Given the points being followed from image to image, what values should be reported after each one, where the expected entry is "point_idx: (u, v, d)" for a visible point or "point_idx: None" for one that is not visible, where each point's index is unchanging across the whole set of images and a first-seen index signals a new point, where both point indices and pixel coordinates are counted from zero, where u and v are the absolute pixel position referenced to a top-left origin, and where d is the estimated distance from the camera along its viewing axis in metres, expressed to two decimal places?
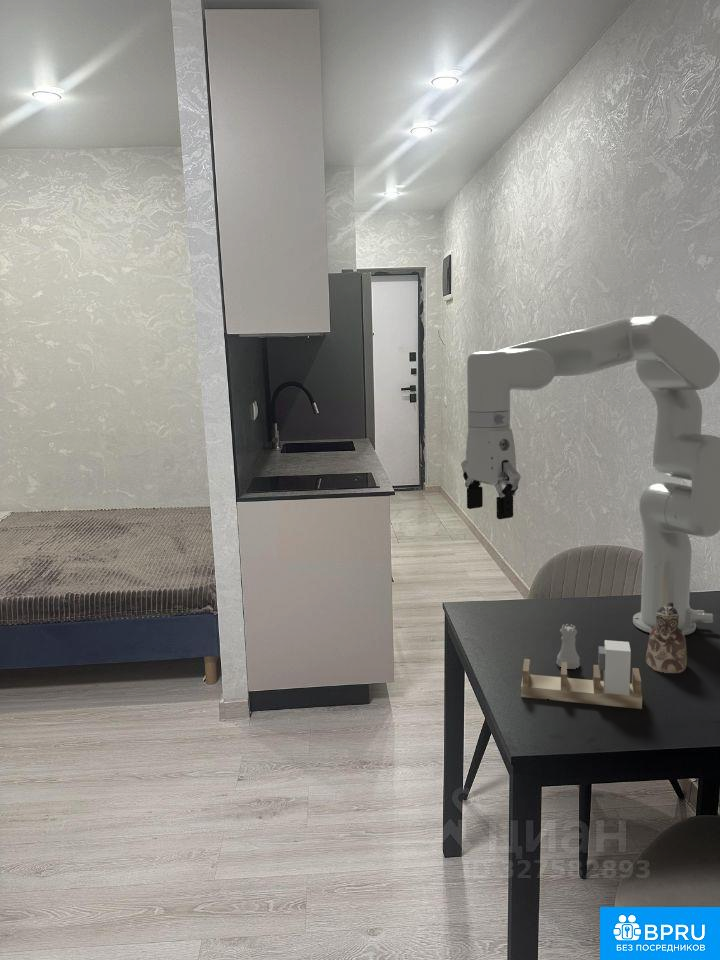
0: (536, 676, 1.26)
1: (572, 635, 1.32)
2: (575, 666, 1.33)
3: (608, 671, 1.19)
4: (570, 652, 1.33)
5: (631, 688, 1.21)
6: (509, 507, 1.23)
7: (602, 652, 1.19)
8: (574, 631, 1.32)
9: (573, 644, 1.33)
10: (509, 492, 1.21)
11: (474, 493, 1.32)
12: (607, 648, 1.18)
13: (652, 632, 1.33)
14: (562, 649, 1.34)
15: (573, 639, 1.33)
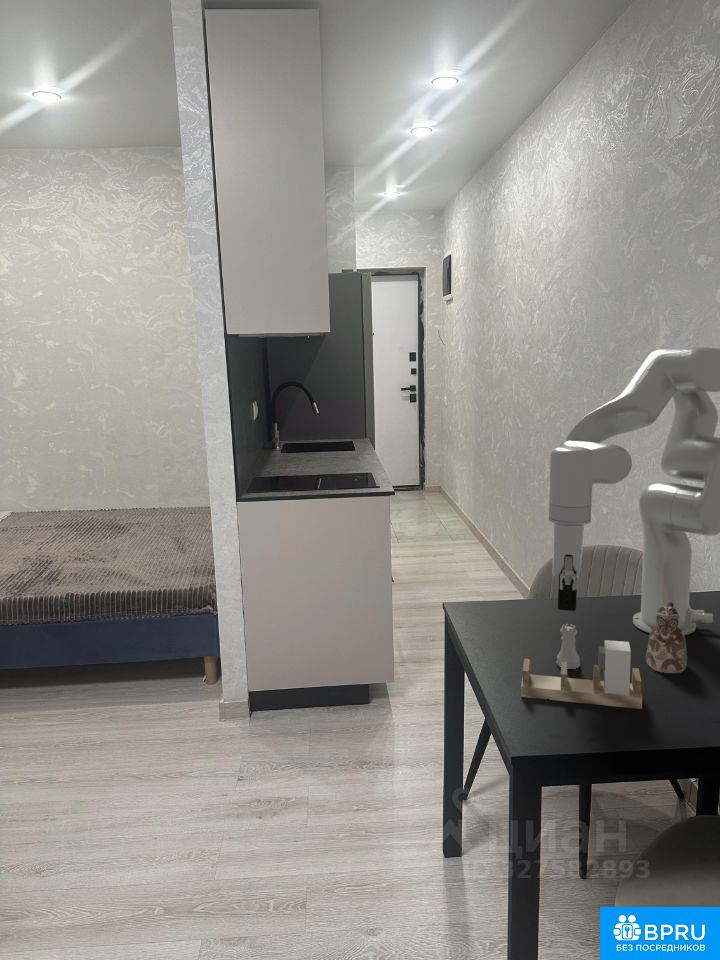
0: (536, 676, 1.26)
1: (572, 635, 1.32)
2: (575, 666, 1.33)
3: (608, 671, 1.19)
4: (570, 652, 1.33)
5: (631, 688, 1.21)
6: None
7: (602, 652, 1.19)
8: (574, 631, 1.32)
9: (573, 644, 1.33)
10: None
11: None
12: (607, 648, 1.18)
13: (652, 632, 1.33)
14: (562, 649, 1.34)
15: (573, 639, 1.33)
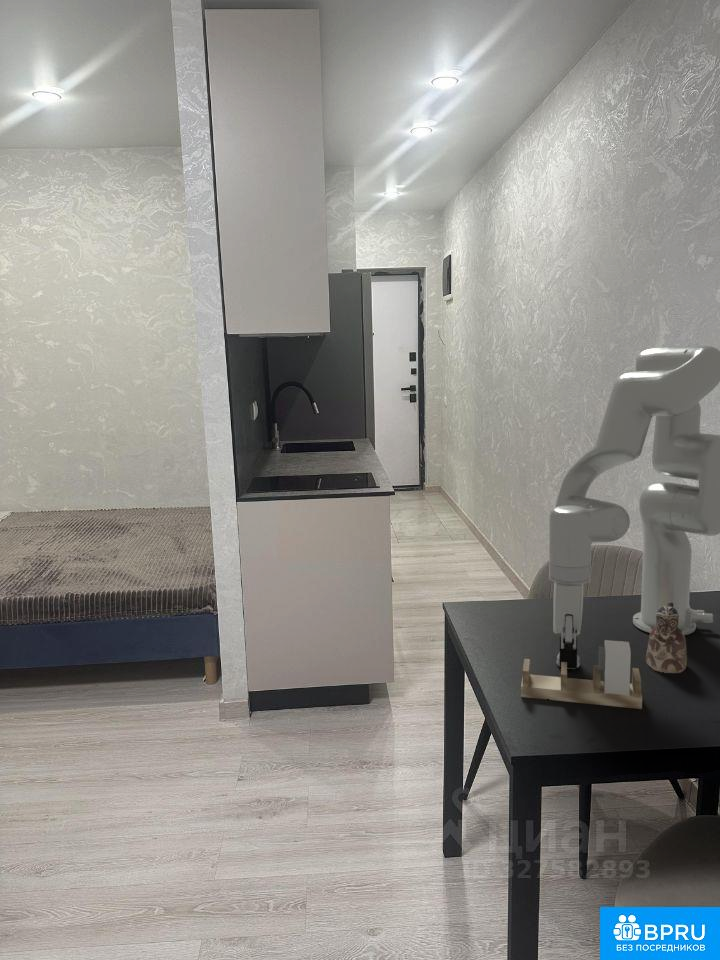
0: (536, 676, 1.26)
1: None
2: None
3: (608, 671, 1.19)
4: None
5: (631, 688, 1.21)
6: None
7: (602, 652, 1.19)
8: None
9: None
10: None
11: None
12: (607, 648, 1.18)
13: (652, 632, 1.33)
14: None
15: None
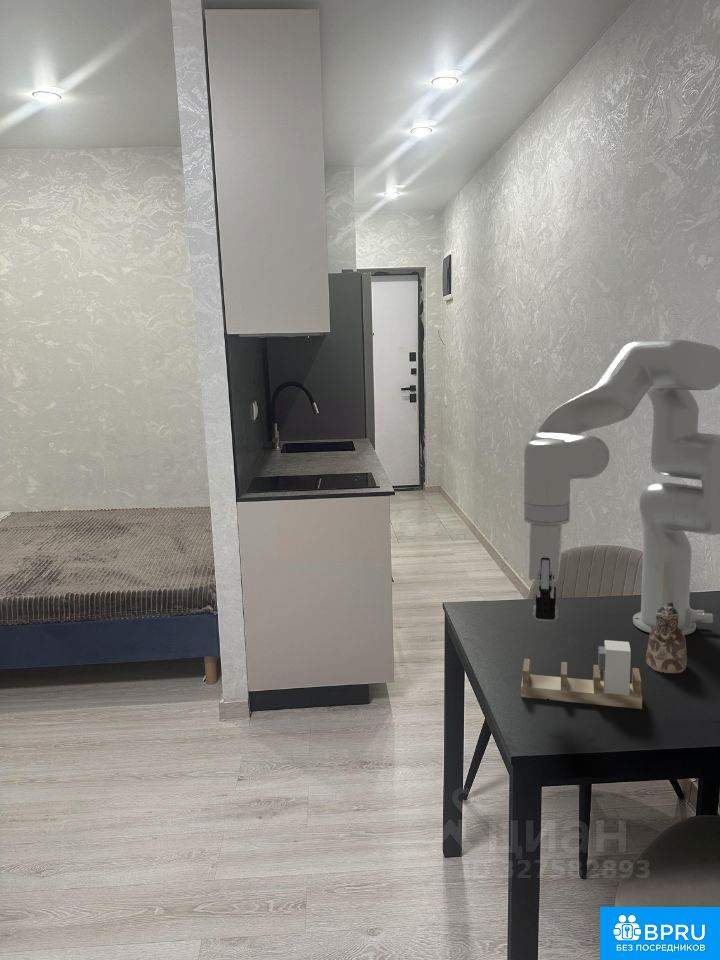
0: (536, 676, 1.26)
1: (549, 583, 1.20)
2: None
3: (608, 671, 1.19)
4: None
5: (631, 688, 1.21)
6: None
7: (602, 652, 1.19)
8: None
9: None
10: None
11: None
12: (607, 648, 1.18)
13: (652, 632, 1.33)
14: None
15: None
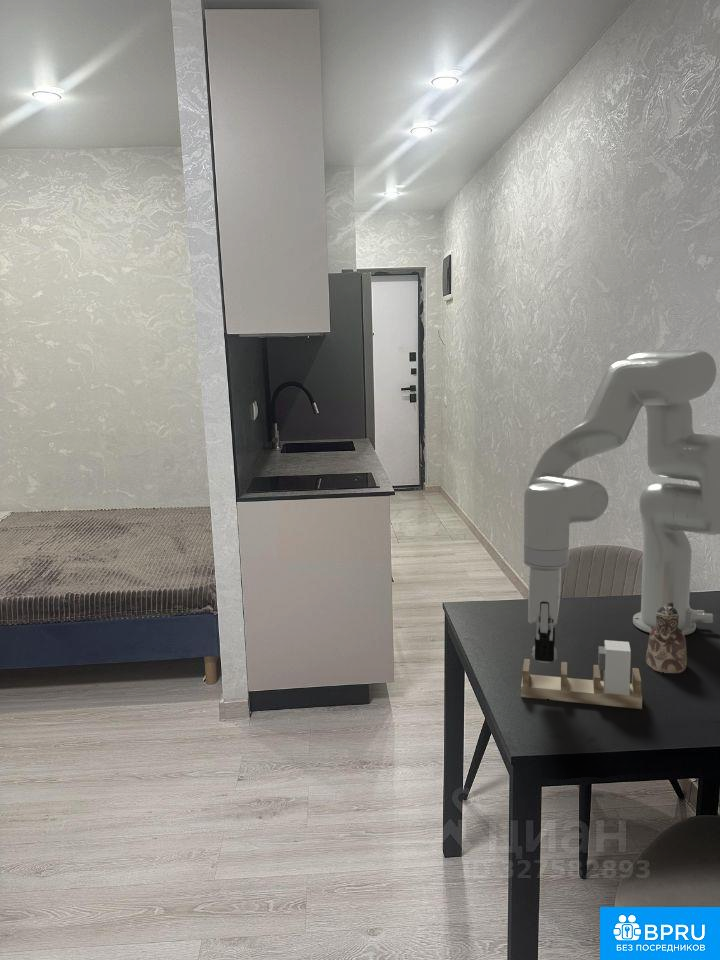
0: (536, 676, 1.26)
1: None
2: None
3: (608, 671, 1.19)
4: None
5: (631, 688, 1.21)
6: None
7: (602, 652, 1.19)
8: None
9: None
10: None
11: None
12: (607, 648, 1.18)
13: (652, 632, 1.33)
14: None
15: None
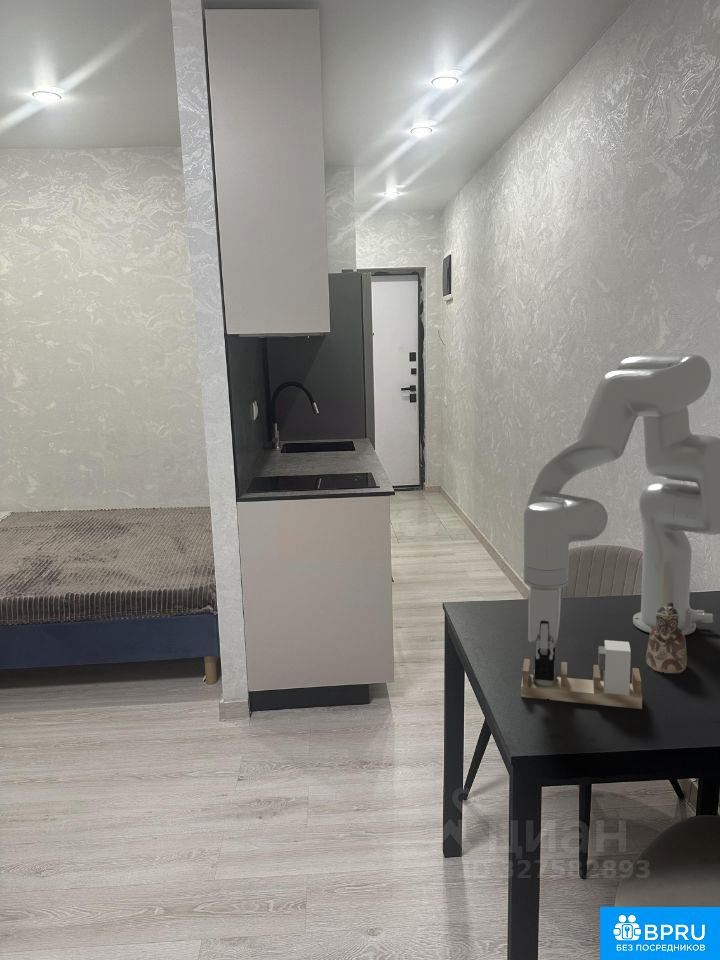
0: None
1: None
2: (553, 682, 1.22)
3: (608, 671, 1.19)
4: None
5: (631, 688, 1.21)
6: None
7: (602, 652, 1.19)
8: None
9: None
10: None
11: None
12: (607, 648, 1.18)
13: (652, 632, 1.33)
14: None
15: None
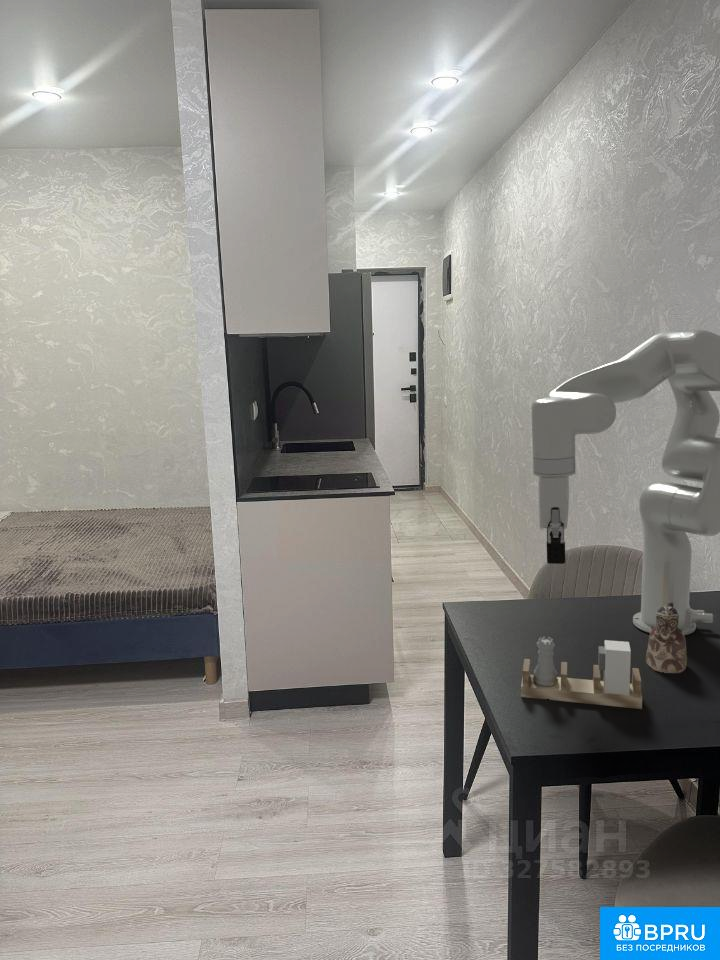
0: None
1: (549, 649, 1.22)
2: (552, 682, 1.22)
3: (608, 671, 1.19)
4: (547, 667, 1.22)
5: (631, 688, 1.21)
6: None
7: (602, 652, 1.19)
8: (551, 644, 1.22)
9: (550, 659, 1.23)
10: None
11: None
12: (607, 648, 1.18)
13: (652, 632, 1.33)
14: (539, 664, 1.23)
15: (550, 653, 1.22)
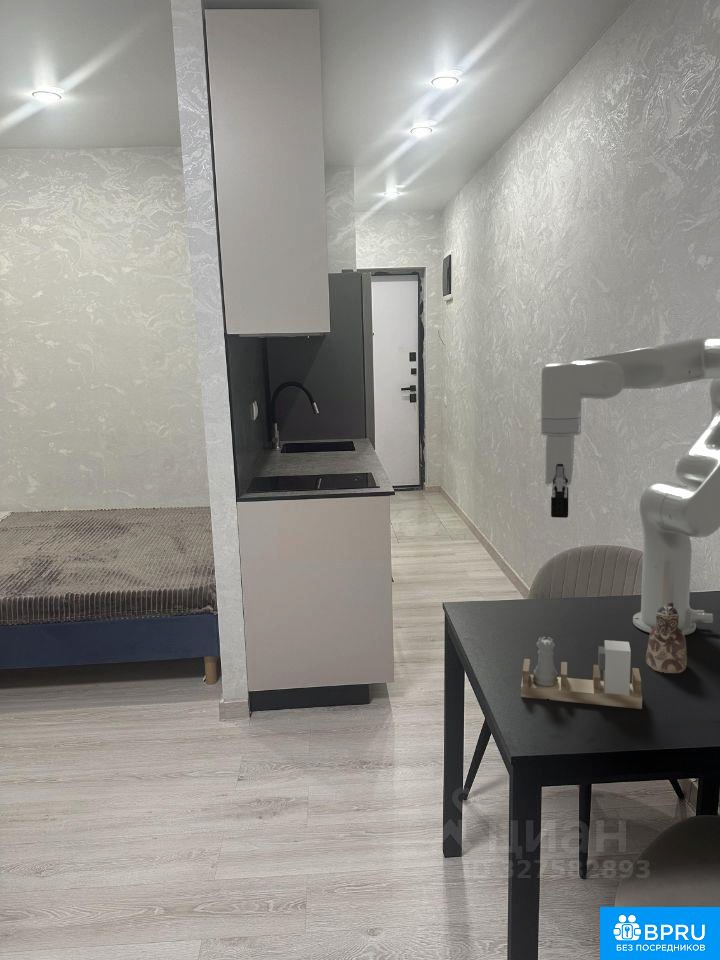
0: None
1: (549, 649, 1.22)
2: (552, 682, 1.22)
3: (608, 671, 1.19)
4: (547, 667, 1.22)
5: (631, 688, 1.21)
6: None
7: (602, 652, 1.19)
8: (551, 645, 1.22)
9: (550, 659, 1.23)
10: None
11: None
12: (607, 648, 1.18)
13: (652, 632, 1.33)
14: (539, 664, 1.23)
15: (550, 653, 1.22)
